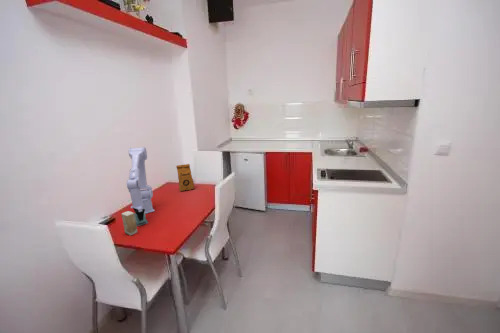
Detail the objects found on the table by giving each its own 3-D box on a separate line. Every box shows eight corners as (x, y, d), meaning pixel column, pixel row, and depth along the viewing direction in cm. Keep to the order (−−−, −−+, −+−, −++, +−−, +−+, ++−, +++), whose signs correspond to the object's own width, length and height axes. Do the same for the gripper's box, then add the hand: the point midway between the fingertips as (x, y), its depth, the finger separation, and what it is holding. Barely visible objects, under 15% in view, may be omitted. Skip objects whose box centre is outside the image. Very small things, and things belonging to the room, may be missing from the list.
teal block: (135, 221, 150) (134, 213, 149) (144, 218, 153) (142, 211, 152) (137, 224, 146) (135, 216, 145) (146, 221, 149) (144, 213, 148)
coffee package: (194, 190, 202) (191, 164, 197) (179, 192, 200) (175, 166, 194) (194, 186, 212) (191, 162, 206) (179, 188, 209) (176, 164, 204)
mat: (134, 222, 151) (134, 222, 151) (145, 219, 155) (145, 218, 155) (136, 226, 145) (136, 226, 145) (148, 223, 149) (148, 222, 149)
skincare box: (124, 233, 139) (120, 213, 135) (131, 229, 142) (128, 210, 139) (131, 235, 135) (126, 215, 132) (138, 232, 138) (134, 212, 135)
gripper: (127, 196, 150) (131, 216, 153) (131, 203, 138) (135, 225, 141) (139, 193, 153) (143, 213, 157) (144, 200, 142) (148, 221, 145)
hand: (140, 218), depth 149 cm, fingers closed on teal block, 5 cm apart
